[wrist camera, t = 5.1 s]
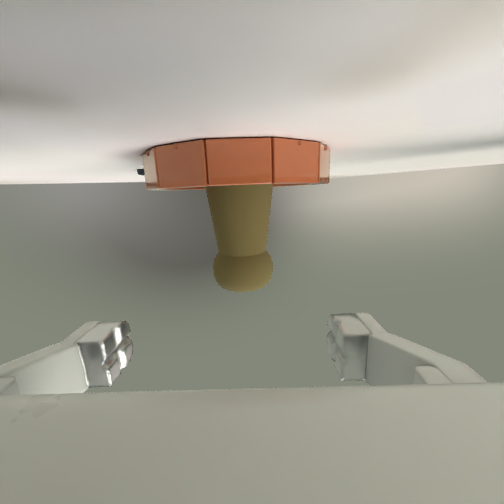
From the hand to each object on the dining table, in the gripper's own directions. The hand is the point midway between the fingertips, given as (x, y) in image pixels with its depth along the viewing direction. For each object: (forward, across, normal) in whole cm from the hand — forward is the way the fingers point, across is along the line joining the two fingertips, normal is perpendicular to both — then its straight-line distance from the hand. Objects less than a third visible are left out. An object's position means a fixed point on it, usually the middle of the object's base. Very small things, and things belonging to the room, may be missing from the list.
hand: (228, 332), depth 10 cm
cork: (+12, 0, -8) cm, 15 cm away
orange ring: (+12, 0, -8) cm, 15 cm away
